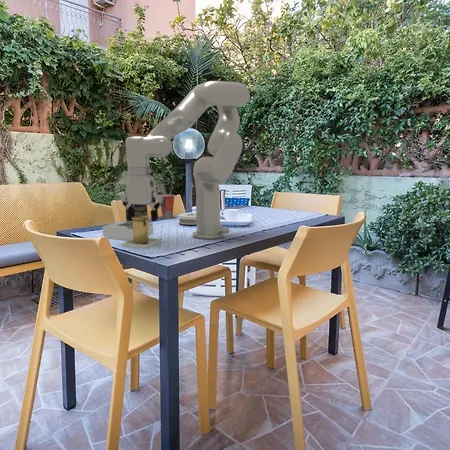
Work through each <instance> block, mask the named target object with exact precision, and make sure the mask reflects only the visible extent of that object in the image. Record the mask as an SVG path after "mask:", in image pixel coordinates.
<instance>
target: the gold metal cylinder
mask: <svg viewBox="0 0 450 450" xmlns="http://www.w3.org/2000/svg"><path fill="white" fill-rule="evenodd" d="M131 219H132V221H133V244H142V245H147V244H149V243H150V241H149V239H148V238H149V235H148V222H149V215H148V216H144V215H140V216H132V217H131Z"/></svg>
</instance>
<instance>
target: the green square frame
mask: <svg viewBox="0 0 450 450" xmlns="http://www.w3.org/2000/svg"><path fill="white" fill-rule="evenodd" d="M148 239H149V244H147V245H142V244H134V242H133V239H132V240H125V241H124V242H122V243H121V244H122V245H121V246H122V247H127V248H136V249H137V248H138V249H148V248H151V247H154V246H155V245H158V244H160V243H162V239H161V238H154V237H148Z"/></svg>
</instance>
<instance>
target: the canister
mask: <svg viewBox="0 0 450 450" xmlns="http://www.w3.org/2000/svg"><path fill="white" fill-rule="evenodd" d="M124 194H126V191H124ZM126 201H127V198H126ZM133 208H134V212H135V216H140V215H144V216H148V217H149V215H148V213H149V212H148V205H134V206H133ZM125 221H132V220H128V212H127V209H126V208H125Z"/></svg>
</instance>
